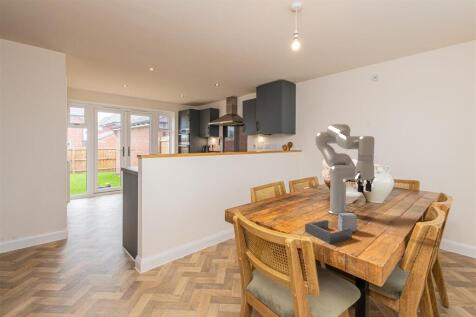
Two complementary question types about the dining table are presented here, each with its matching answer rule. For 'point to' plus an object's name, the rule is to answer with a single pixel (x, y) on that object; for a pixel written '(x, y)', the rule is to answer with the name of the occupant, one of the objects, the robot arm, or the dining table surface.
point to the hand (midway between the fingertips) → (364, 191)
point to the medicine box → (347, 221)
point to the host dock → (319, 232)
